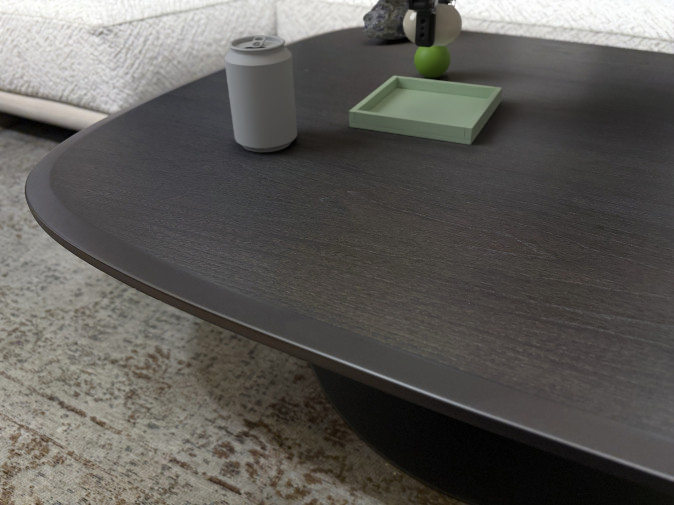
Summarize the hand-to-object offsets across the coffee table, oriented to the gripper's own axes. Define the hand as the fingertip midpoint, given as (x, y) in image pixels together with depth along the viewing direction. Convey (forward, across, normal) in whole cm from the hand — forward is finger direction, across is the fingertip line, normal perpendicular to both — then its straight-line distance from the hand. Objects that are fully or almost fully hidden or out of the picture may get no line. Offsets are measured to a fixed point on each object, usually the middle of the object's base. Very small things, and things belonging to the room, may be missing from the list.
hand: (431, 40), depth 74 cm
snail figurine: (+10, +15, +4) cm, 18 cm away
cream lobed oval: (+1, 0, 0) cm, 1 cm away
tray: (+9, 0, 0) cm, 9 cm away
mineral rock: (+10, +36, +18) cm, 41 cm away
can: (+10, -16, +15) cm, 24 cm away
